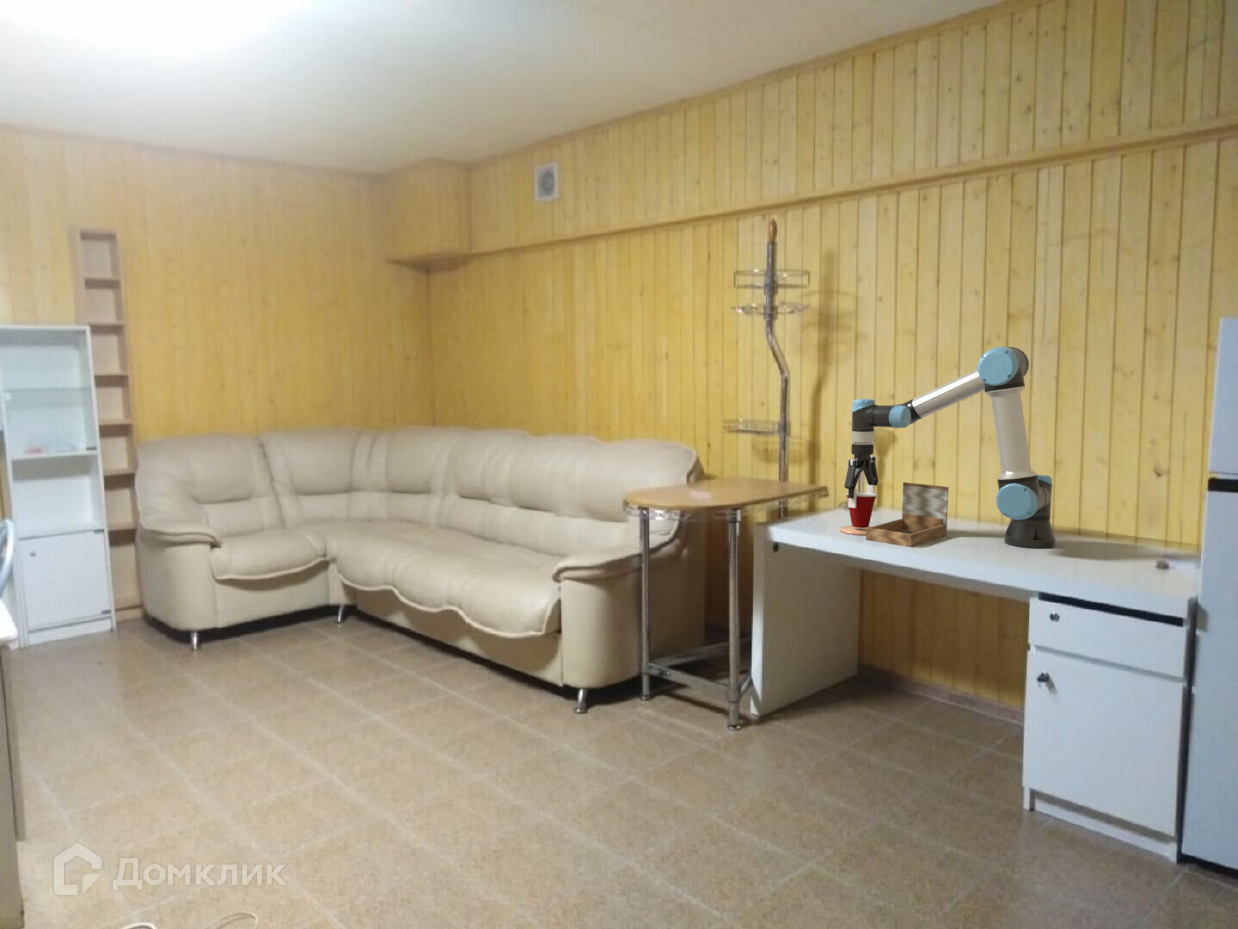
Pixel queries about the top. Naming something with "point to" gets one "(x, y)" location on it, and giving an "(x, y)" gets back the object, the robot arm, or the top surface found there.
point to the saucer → (853, 530)
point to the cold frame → (916, 517)
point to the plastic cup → (862, 509)
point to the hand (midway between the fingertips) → (861, 505)
